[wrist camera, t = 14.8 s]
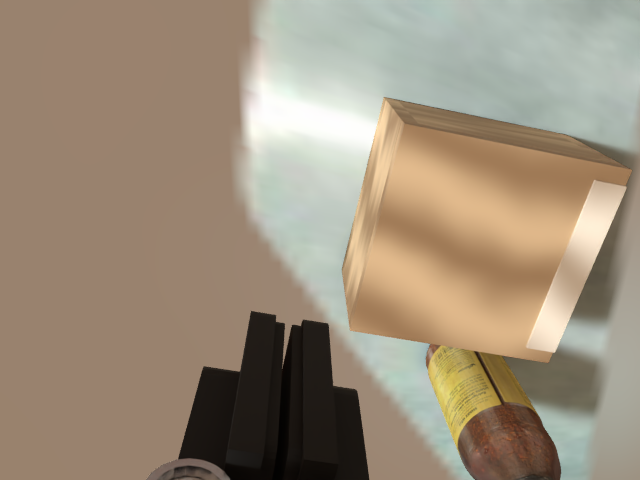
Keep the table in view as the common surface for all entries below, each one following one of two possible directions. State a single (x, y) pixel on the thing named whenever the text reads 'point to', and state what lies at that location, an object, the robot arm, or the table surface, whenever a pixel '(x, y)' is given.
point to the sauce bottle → (490, 416)
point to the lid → (483, 242)
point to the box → (383, 154)
